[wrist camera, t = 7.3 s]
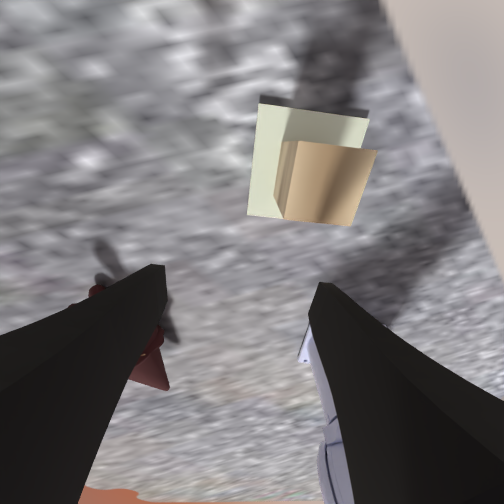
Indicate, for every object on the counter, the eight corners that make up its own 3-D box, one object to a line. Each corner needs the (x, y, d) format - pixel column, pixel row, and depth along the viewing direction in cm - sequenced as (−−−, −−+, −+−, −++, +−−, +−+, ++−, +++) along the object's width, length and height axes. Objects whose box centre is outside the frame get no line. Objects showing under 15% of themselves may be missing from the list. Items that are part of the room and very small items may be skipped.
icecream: (193, 403, 22) (100, 294, 16) (129, 437, 21) (11, 338, 16) (197, 353, 28) (131, 264, 23) (147, 378, 28) (68, 294, 22)
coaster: (365, 120, 15) (369, 119, 14) (332, 222, 19) (335, 224, 18) (258, 104, 14) (258, 103, 14) (247, 212, 18) (246, 214, 18)
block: (333, 148, 15) (377, 150, 10) (319, 200, 17) (350, 226, 12) (281, 141, 15) (298, 140, 10) (273, 195, 17) (283, 219, 12)
